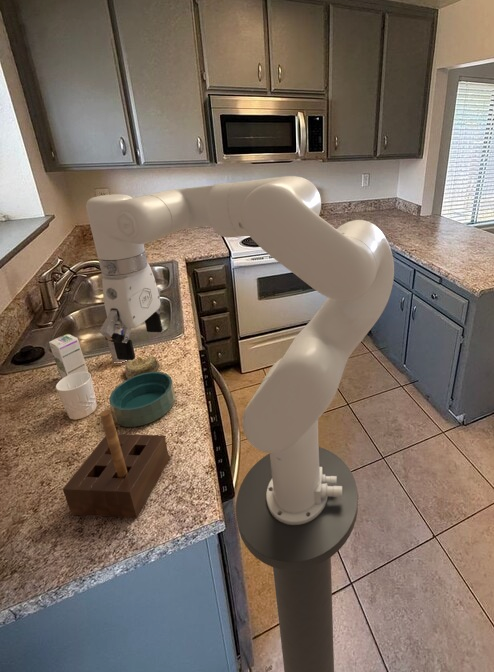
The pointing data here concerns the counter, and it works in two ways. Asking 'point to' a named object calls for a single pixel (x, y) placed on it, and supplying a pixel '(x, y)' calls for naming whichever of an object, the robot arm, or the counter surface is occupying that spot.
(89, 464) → the holder
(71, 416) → the white cup
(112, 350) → the energy drink
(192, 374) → the counter surface
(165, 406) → the bowl
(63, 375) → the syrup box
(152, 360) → the tan textured clump
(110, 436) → the stick
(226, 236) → the robot arm
